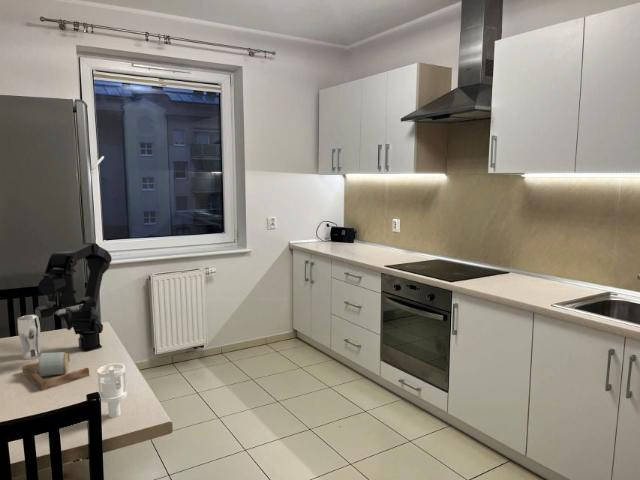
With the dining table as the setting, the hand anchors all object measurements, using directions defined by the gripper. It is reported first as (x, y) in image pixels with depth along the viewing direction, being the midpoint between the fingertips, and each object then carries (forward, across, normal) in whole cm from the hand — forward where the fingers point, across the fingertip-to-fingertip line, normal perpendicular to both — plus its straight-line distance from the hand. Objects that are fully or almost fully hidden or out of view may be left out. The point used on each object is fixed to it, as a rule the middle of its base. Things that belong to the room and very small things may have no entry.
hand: (69, 329), depth 168 cm
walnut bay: (+12, +7, +8) cm, 16 cm away
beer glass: (+12, +8, -16) cm, 22 cm away
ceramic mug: (+12, +8, +5) cm, 15 cm away
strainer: (+12, +7, +49) cm, 51 cm away
